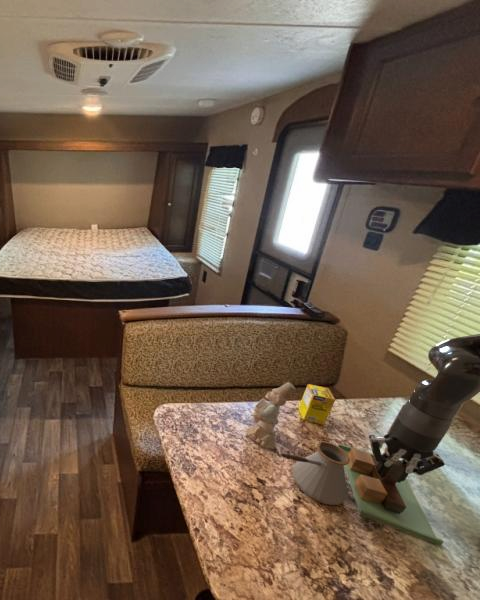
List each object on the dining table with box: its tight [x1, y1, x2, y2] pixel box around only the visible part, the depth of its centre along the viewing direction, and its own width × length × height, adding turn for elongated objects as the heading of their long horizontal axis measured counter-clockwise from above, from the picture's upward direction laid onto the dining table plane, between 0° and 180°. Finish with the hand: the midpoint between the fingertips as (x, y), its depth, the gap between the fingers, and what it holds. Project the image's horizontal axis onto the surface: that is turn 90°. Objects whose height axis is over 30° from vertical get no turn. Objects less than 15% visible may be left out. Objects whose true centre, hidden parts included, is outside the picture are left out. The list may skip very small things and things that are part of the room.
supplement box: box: [298, 383, 336, 426], centre depth 101 cm, size 6×6×11 cm
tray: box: [337, 443, 444, 546], centre depth 80 cm, size 14×22×2 cm, turn 154°
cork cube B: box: [354, 474, 387, 505], centre depth 77 cm, size 4×4×4 cm
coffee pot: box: [274, 440, 350, 506], centre depth 76 cm, size 21×12×15 cm, turn 100°
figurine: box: [245, 381, 297, 450], centre depth 91 cm, size 9×8×20 cm
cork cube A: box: [348, 447, 375, 476], centre depth 85 cm, size 4×4×4 cm
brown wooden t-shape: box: [370, 456, 406, 514], centre depth 78 cm, size 3×14×9 cm, turn 154°
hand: (388, 476), depth 78 cm, fingers closed on brown wooden t-shape, 2 cm apart
